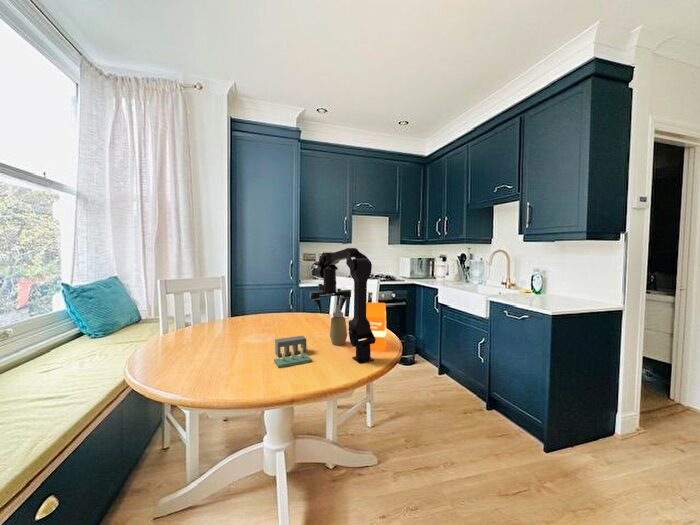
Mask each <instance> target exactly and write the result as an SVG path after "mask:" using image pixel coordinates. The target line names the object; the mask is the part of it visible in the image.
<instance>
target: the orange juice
mask: <svg viewBox="0 0 700 525" xmlns="http://www.w3.org/2000/svg"><path fill="white" fill-rule="evenodd" d="M386 308H387V307H386V303H385V302H367V306H366V318H367V319H368V321H369V323H370V328H371V331H372V333H373V335H374V337H375V339H376V341H375V344H370V351H377V352H378V351H379V352H385V351H386V347H387V310H386ZM364 340H366V338H365V339H364Z"/></svg>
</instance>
